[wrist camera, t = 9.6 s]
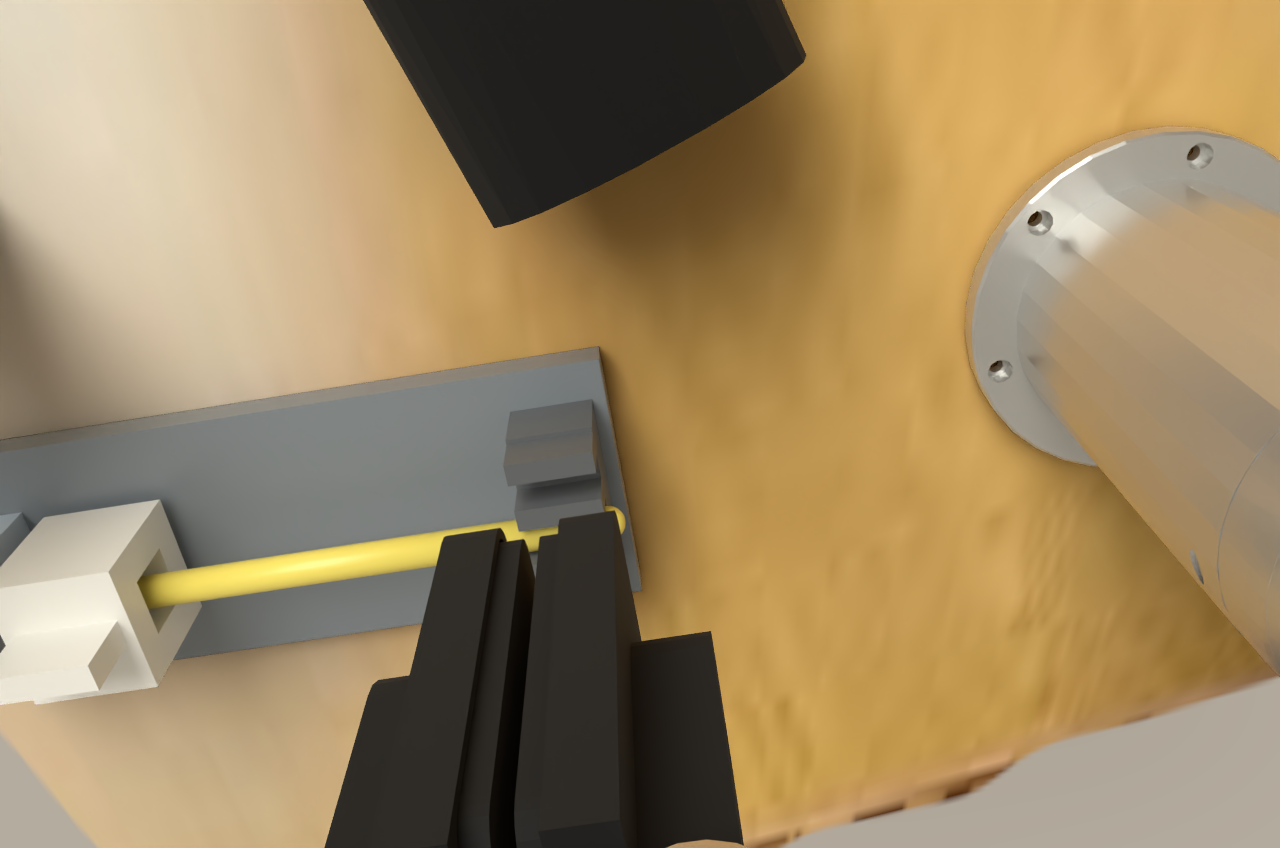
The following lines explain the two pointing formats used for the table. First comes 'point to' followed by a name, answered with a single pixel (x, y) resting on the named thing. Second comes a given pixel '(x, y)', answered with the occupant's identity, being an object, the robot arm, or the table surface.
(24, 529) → the connector
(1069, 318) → the robot arm
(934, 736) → the table surface
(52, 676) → the sleeve
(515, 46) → the black cylinder
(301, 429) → the board
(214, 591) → the fibre cord
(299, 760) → the table surface
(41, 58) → the table surface
